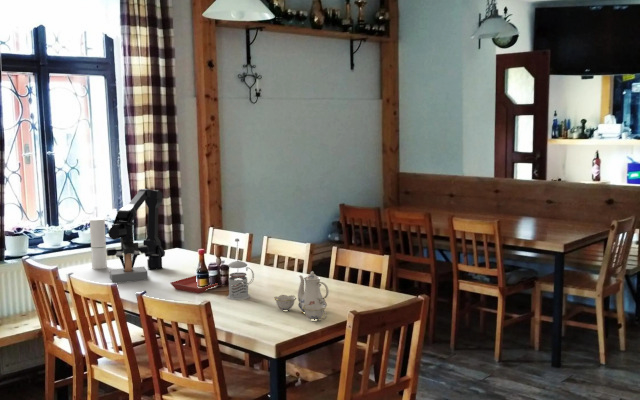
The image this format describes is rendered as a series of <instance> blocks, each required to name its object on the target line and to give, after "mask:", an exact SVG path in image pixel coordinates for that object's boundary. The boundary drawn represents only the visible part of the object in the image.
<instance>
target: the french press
mask: <svg viewBox="0 0 640 400" xmlns="http://www.w3.org/2000/svg"><path fill="white" fill-rule="evenodd" d="M234 242H236V253H237V257H236V259H237V260H235V261H231V262H230V263H229V264H228V265H227V267H228V268H230V269H242V268H245V271H246V272H248V269H249V270H250V271H251V274H252V275H251V276H252V277H251V280H250V281H248V277H247V273H246V272H238V271H237V272H232V273H229V277H228V295H227V296H226V299H228V300H231V301H241V300H242V299H243V300H247V299H250V298H251V295H250V294H249V285H251V284H252V283H253V282H254V278H255V273H254V271H253V269H251V268H250V267H248V264H247V262H244V261H240V260H239V254H238V253H239V251H238V250H239V249H238V246H239V245H238V244H239V243H238V242H240V238H235V240H234Z"/></svg>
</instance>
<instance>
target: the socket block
mask: <svg viewBox="0 0 640 400" xmlns="http://www.w3.org/2000/svg"><path fill="white" fill-rule="evenodd" d="M148 273H149V272H148V270H147V268H146V267H145V266H136V267H134V266H133V268H132V271H130V272H125V269H124V268H110V269H109V278H110V281H111V283H112V282H117V283H116V284H119V283H118V282H121V283H128V282H127V281H132V282H140V281H142V282H143V281H148V280H149V276H148Z"/></svg>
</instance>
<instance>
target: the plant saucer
mask: <svg viewBox="0 0 640 400" xmlns="http://www.w3.org/2000/svg"><path fill="white" fill-rule="evenodd" d="M170 285H171V286H172V287H173V288H174V289H176V290H180V291H185V292H191V293H197V294H201V293H205V292H206V291H205V290H206V289H208V288H211V287H214V286H216V285H218V283H215V284H212V285H208V286H205V287H202V288H198V287H197V282H196V275H193V276H190V277H185V278H181V279H178V280H174V281H171V282H170ZM204 291H205V292H204Z"/></svg>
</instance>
